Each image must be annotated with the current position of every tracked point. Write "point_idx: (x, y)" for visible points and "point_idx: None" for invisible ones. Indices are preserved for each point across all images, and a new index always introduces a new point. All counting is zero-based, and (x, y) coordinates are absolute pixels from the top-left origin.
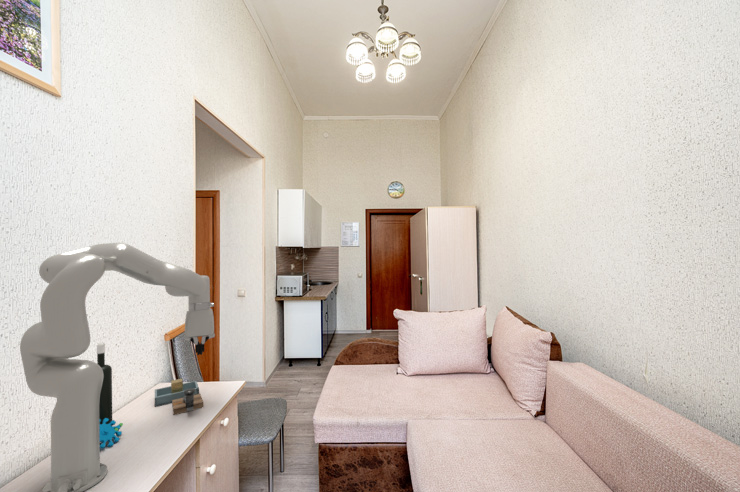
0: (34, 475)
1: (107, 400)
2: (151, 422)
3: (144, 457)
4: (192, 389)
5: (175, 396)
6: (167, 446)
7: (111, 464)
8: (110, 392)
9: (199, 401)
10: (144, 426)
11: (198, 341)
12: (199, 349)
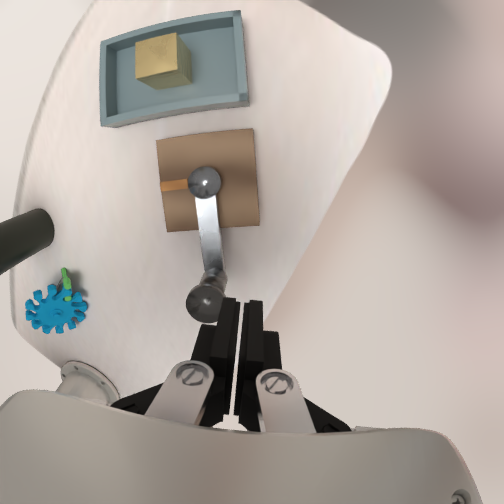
0: (30, 332)
1: (3, 270)
2: (123, 243)
3: (155, 385)
4: (216, 303)
5: (164, 113)
6: None
7: (112, 373)
8: None
9: (246, 210)
10: (113, 258)
11: (213, 397)
12: (232, 381)
